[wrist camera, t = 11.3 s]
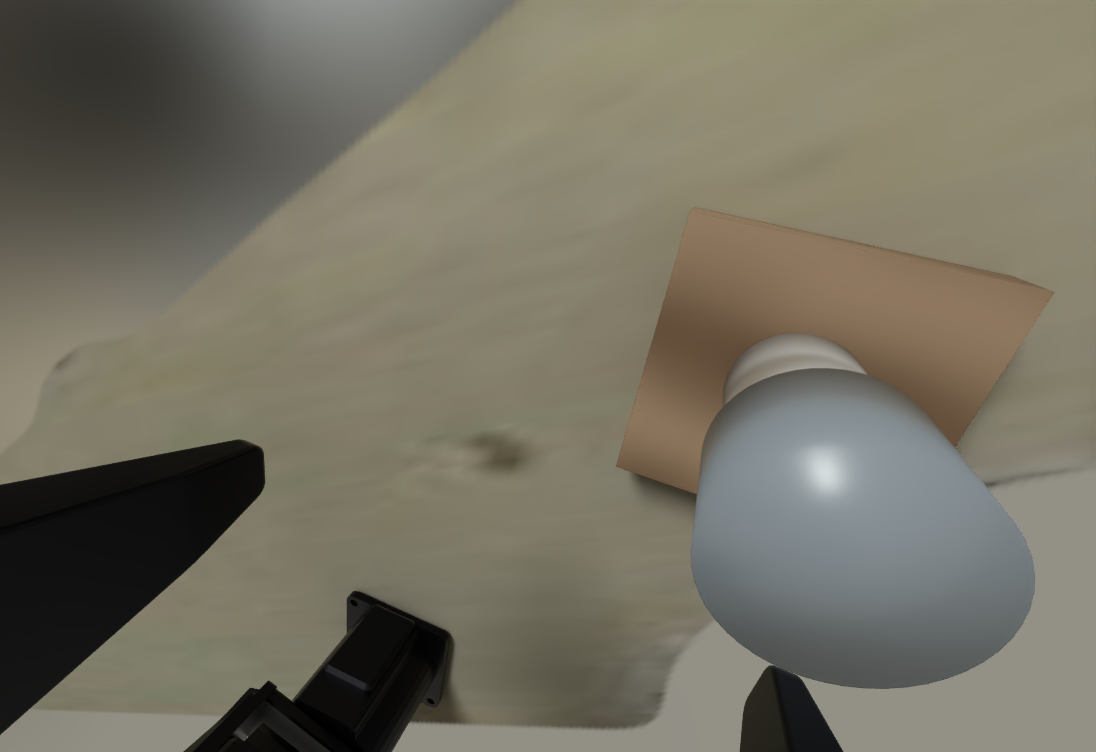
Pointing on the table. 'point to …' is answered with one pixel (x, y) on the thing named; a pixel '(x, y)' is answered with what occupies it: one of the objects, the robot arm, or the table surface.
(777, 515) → the smooth rounded gray lump
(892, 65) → the table surface
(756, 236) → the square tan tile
